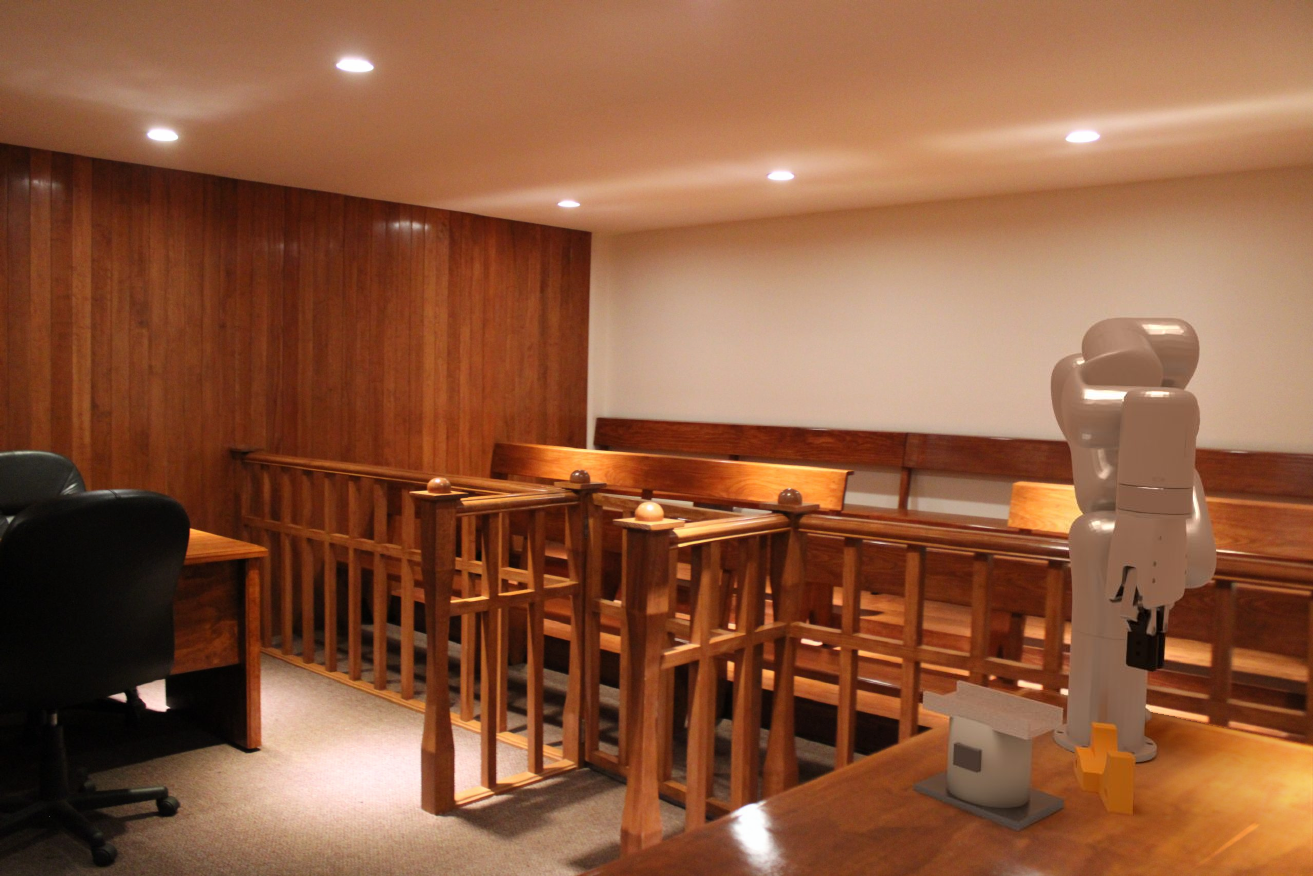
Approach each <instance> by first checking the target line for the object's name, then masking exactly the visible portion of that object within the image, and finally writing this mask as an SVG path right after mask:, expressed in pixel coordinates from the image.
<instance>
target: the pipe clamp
mask: <svg viewBox="0 0 1313 876" xmlns="http://www.w3.org/2000/svg"><path fill="white" fill-rule="evenodd" d="M1073 757H1074V759H1073V760H1074V761H1073V772H1074V775H1075V777H1076V780H1077V782H1078V785H1079V786H1080V789H1081V791H1082V792H1089V793H1098V795H1099V797H1100V799H1101V801H1102V803H1103V806H1104V808H1105V810H1106V811H1107V813H1114V814H1115V813H1116V814H1123V815H1131V816H1132V815H1134V814H1133V813H1134V812H1133V809H1134V794H1135V793H1134V792H1135V775H1136V774H1135V773H1136V762H1135V760H1136V759H1135V757H1134V756H1133V754H1132V753H1129V752H1119V751H1118V749H1117V728H1116V726H1115V725H1114V724H1105V723H1095V722H1092V723H1091V742H1090V748H1086V747H1077V746H1075V753H1074V755H1073Z"/></svg>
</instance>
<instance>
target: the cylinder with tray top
mask: <svg viewBox="0 0 1313 876" xmlns="http://www.w3.org/2000/svg"><path fill="white" fill-rule="evenodd" d="M922 709H924V710H927V711H929V712H933V713H936V714H938V715H943V716H946V717H949V718H948V719H949V722H948V747H947V769H946V770H945V771H942V772H940V773H937V774H935V775H932V776H930V777H928V778H925V779H922V780H920V781H917V782H915V783H913V785H912V787H913V788H912V790H913V791H915V792H918V793H920V794H922V795H925V796H928V797H930V798H933V799H935V800H938V801H939V802H942V803H945V804H948V805H950V804H951V805H950V806H953V807H955V806H956V807H955V808H958V809H960V810H962V809H963V811H964V812H967V811H968V813H970V812H971V813H970V814H972V813H973V814H972V815H975V816H977V815H978V816H977V817H980V818H983V819H985V820H987V821H989V822H993V823H995V824H997V825H1000V826H1002V827H1004V828H1007V829H1010V830H1013V831H1015V832H1020V831H1021V830H1023V829H1026V828H1027V827H1029V826H1032V825H1033V824H1035V823H1036V822H1038V821H1040V820H1043V819H1045V818H1047V817H1049V816H1051V815H1052V814H1054V813H1056V812H1058V811H1060V810H1062V809H1064V802H1065V799H1064V798H1062V797H1059V796H1056V795H1053V794H1050V793H1047V792H1044V791H1041V790H1039V789H1036V788H1033V787H1031V780H1032V779H1031V778H1032V759H1033V758H1032V756H1033V740H1034V739H1033V738H1036V737H1039V736H1042V735H1043V734H1046V733H1048V732H1051V731H1054V730H1055V729H1056V728H1058V727H1061V726H1062V725H1063V724H1064V723H1063V722H1064V721H1063V720H1064V718H1063V717H1064V707H1062V706H1061V707H1060V706H1056V705H1054V704H1049V703H1046V702H1043V701H1039V700H1038V701H1037V700H1035V699H1032V698H1031V699H1030V698H1028V697H1023V696H1020V695H1015V694H1012V693H1009V692H1004V691H1001V690H997V689H994V688H989V687H986V686H981V685H978V684H975V683H971V682H967V681H963V680H957V681H956V690H955V691H953V692H949V693H946V694H940V693H936V692H932V691H929V690H924V691H923V692H922Z"/></svg>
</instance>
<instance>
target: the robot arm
mask: <svg viewBox="0 0 1313 876" xmlns="http://www.w3.org/2000/svg"><path fill="white" fill-rule="evenodd" d="M1193 327H1194V326H1192V324H1190V323H1189V322H1188V321H1186V320H1184V319H1180V318H1177V317H1176V318H1174V317H1113V318H1106V319H1103V320H1100V321H1098V322H1097V323H1095V324H1093V325H1092V326H1090V327H1089V328H1088V330H1087V331H1086V333H1085V334H1084V335H1083V337H1082V338H1083V339H1082V342H1081V352H1077V353H1074V354H1070V355H1067V356H1065V357H1063V358H1061V359H1060V360H1058V362H1057V363H1056V364H1055V365H1054V367H1053V370H1052V371H1051V376H1050V394H1051V395H1050V398H1051V405H1052V409H1053V413H1054V418H1055V420H1056V422H1057V424H1058V425H1057V426H1058V427H1059V429H1060V431H1061V433H1062V436H1063V437H1064V439H1065V440H1066V442H1067V444H1068V447H1069V450H1070V456H1071V467H1072V468H1071V469H1072V479H1073V488H1074V496H1075V500H1076V504H1077V505H1078V506H1077V507H1078V509H1079V510H1080V512H1081V513H1082V514H1081V515H1080V516H1078V517H1076V518H1075V520H1074V521H1073V522H1072V523H1071V526H1070V528H1069V531H1068V538H1067V539H1068V541H1067V542H1068V552H1069V553H1068V555H1069V563H1070V565H1069V566H1070V571H1071V572H1070V573H1071V589H1072V591H1071V592H1072V596H1071V597H1072V600H1071V601H1072V603H1071V604H1072V605H1071V607H1072V608H1071V624H1070V625H1071V627H1070V628H1071V629H1070V647H1069V664H1068V665H1069V669H1068V689H1067V705H1066V706H1067V708H1066V723H1062V726H1061V727H1058V728H1056V729H1053V739H1054V742H1056V744H1057V745H1059V746H1060V747H1062V748H1063V749H1065V750H1066V751H1068V752H1072V753H1074V754H1075V746H1077V747H1086V748H1090V742H1091V723H1092V722H1095V723H1105V724H1114V725H1115V726H1116V728H1117V749H1118V751H1119V752H1129V753H1132V754H1133V756H1134V757H1135V759H1136V760H1135V763H1142V762H1146V761H1149V760H1152V759H1154V758H1155V757H1156V756H1157V750H1158V749H1157V748H1158V747H1157V744H1156V743H1155V742H1154V740H1152V739H1151V738H1149V737H1148V736H1146V735H1145V730H1146V728H1145V724H1146V723H1147V722H1150V720H1151V719H1152V712H1151V711H1150V710H1149V709H1148V708H1146V707H1147V690H1148V688H1147V687H1148V673H1149V672H1155V671H1157V670H1160V669H1162V668H1164V666H1165V656H1166V655H1165V653H1166V637H1167V636H1166V634H1167V631H1168V628H1169V627H1168V624H1169V615H1170V611H1171V610H1172V609H1173V608H1174V606H1175V603H1176V602H1178V601H1179V600H1180V599H1182V598H1183V596H1184V593H1185V589H1196V588H1197V589H1198V588H1201V587H1203V586H1205V585H1206V584H1208V583H1209V582H1210V581H1211V580H1212V578H1213V577H1214V575H1215V572H1216V568H1217V556H1218V555H1217V547H1216V546H1217V545H1216V540H1215V535H1214V530H1213V526H1212V521H1211V517H1210V512H1209V508H1208V504H1207V503H1208V502H1207V500H1206V494H1205V489H1204V486H1203V483H1202V479H1201V476H1200V474H1199V472H1198V470H1197V469H1196V465H1195V464H1196V449H1197V436H1198V434H1199V430H1200V425H1201V410H1200V406H1199V404H1198V403H1199V402H1198V400H1197V397H1196V396H1195V394H1194V393H1192V392H1190V391H1188V390H1185V389H1186V388H1187V386H1188V385H1189V384H1190V381H1191V379H1192V378H1193V377H1194V375H1195V372H1196V370H1197V367H1198V363H1199V361H1200V360H1199V359H1200V341H1199V340H1200V339H1199V337H1198V334H1197V332H1196V330H1195V328H1193Z"/></svg>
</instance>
